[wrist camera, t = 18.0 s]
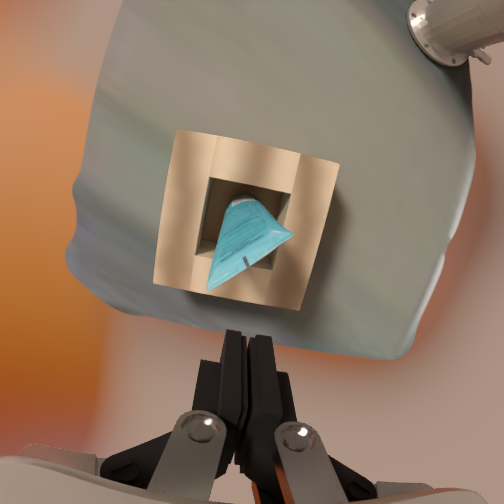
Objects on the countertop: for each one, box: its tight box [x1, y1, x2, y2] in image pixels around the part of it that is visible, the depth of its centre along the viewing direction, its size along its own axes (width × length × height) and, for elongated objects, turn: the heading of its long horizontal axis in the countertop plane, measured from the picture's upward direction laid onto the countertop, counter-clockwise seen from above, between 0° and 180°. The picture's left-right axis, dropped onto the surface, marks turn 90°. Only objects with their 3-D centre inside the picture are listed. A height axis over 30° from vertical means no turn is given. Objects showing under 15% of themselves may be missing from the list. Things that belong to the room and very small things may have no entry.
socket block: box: [153, 129, 340, 311], centre depth 38 cm, size 18×18×8 cm
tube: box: [206, 194, 293, 292], centre depth 31 cm, size 8×5×19 cm, turn 129°
